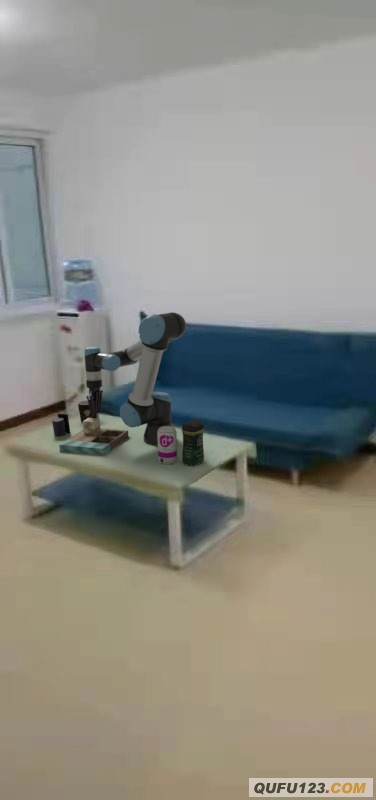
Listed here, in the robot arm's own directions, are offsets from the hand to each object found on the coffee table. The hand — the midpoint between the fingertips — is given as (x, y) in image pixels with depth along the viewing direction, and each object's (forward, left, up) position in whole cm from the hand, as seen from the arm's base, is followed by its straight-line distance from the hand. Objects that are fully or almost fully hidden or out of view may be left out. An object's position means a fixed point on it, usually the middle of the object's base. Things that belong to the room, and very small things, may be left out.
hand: (96, 425), depth 307 cm
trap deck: (-5, +13, -5) cm, 14 cm away
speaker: (+17, +5, -5) cm, 19 cm away
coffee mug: (+14, -20, -5) cm, 26 cm away
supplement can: (-47, +27, -5) cm, 54 cm away
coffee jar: (-58, +25, -5) cm, 63 cm away
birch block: (0, +5, -2) cm, 5 cm away
